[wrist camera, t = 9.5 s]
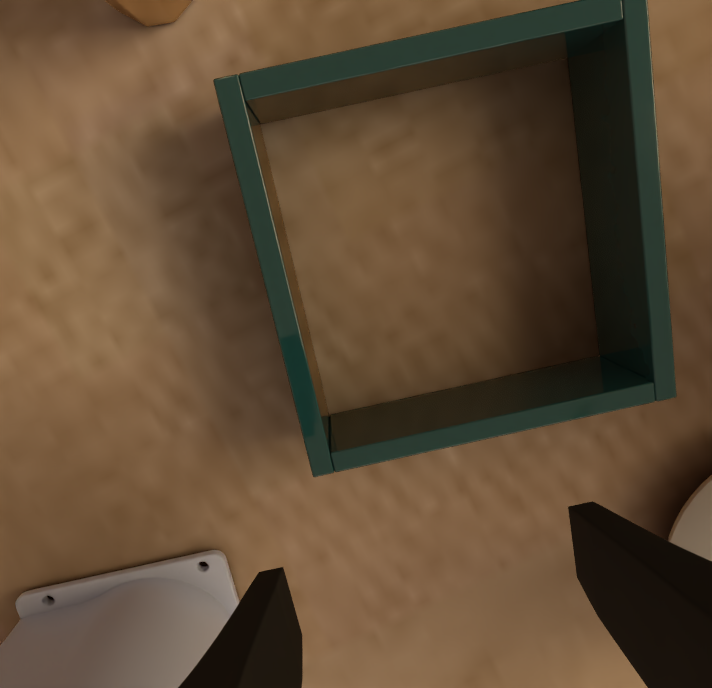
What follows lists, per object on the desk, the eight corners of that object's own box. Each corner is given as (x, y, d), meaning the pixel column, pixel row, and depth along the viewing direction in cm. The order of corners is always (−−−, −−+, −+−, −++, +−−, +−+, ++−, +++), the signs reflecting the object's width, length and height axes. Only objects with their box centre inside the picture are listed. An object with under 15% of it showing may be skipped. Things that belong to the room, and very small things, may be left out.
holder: (315, 435, 23) (313, 478, 19) (234, 107, 20) (212, 78, 16) (618, 368, 23) (677, 397, 19) (585, 31, 20) (647, -16, 16)
